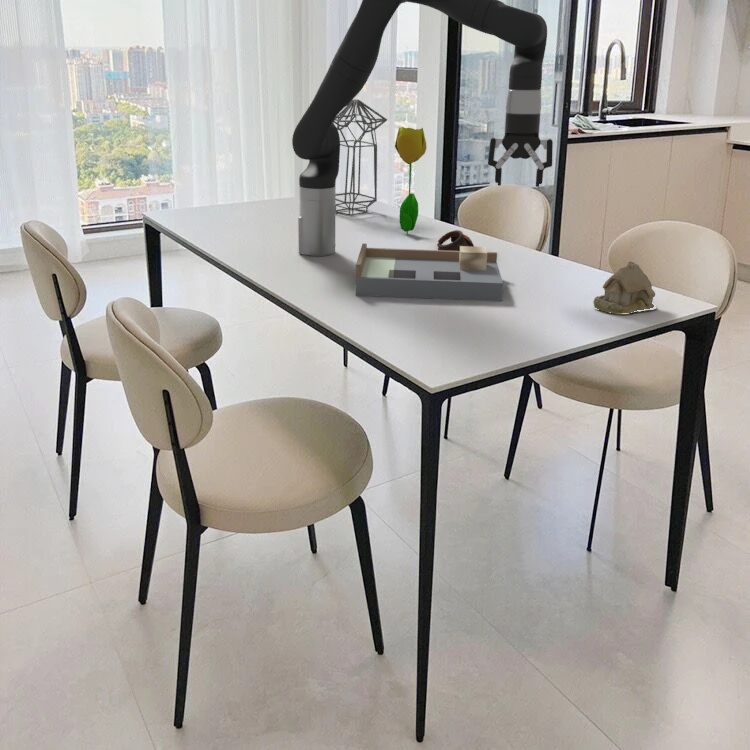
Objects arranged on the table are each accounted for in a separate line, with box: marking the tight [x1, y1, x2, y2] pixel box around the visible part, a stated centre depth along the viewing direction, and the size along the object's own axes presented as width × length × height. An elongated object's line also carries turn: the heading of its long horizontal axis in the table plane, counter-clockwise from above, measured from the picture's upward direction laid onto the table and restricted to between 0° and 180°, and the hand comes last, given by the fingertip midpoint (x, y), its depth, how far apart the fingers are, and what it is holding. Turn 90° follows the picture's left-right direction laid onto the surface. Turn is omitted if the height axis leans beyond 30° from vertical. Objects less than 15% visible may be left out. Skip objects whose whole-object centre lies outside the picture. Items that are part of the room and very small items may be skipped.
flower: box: [394, 126, 427, 235], centre depth 238 cm, size 9×8×30 cm
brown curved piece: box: [436, 229, 475, 251], centre depth 219 cm, size 12×10×8 cm
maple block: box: [459, 246, 488, 270], centre depth 194 cm, size 6×6×4 cm
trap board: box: [355, 243, 504, 302], centre depth 192 cm, size 32×20×7 cm, turn 87°
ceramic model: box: [592, 261, 656, 314], centre depth 180 cm, size 14×11×10 cm
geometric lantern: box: [332, 98, 388, 216], centre depth 265 cm, size 16×16×35 cm
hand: (518, 185), depth 192 cm, fingers open, 8 cm apart
